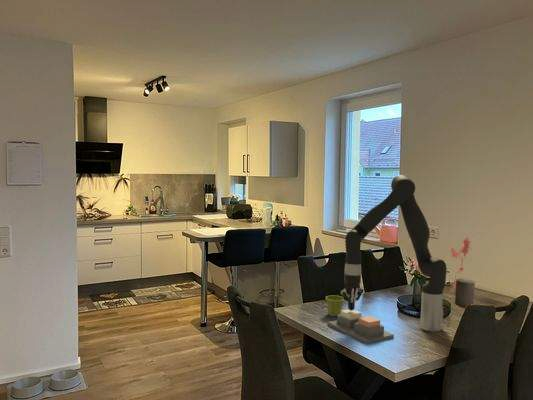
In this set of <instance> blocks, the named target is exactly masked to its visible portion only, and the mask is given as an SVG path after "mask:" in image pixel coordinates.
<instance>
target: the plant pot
mask: <svg viewBox="0 0 533 400" xmlns="http://www.w3.org/2000/svg"><path fill="white" fill-rule="evenodd" d="M325 300H326V302H327V304H326V305H327V314H328V316H331V317H337V315H341V311H342V310H343V309H342V308H343V303H344V301H345V300H344V298H343V297H342V295H341V296H340V295H332V294H331V295H327V296H325Z"/></svg>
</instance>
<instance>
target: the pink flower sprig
mask: <svg viewBox="0 0 533 400" xmlns="http://www.w3.org/2000/svg"><path fill="white" fill-rule="evenodd" d="M462 241H463V242H462V243H463V245H462V247H461V248H460V250H459V251H456V249H455V248H453V247H450V253H451V256H452V258H456V259H458V257H459V258H460V259H461V265H460V266H458V271H457V272H456V273H455V277H454V279H455V280H454V283H453V287H452V288H451V290H450V291H449V292H450V293H452V292H453V290H455V291H456V279H457V274H458V273H461V272H462V271H463V270H464V267H463V263H464V262H463V260H464V259H463V258H462V256H461V254H463V257H466V254H469V249H470V250H471V251H473V250H472V248H471V247H470V244H471V243H470V240H469V237H468V236H466V238H465V239H463V240H462ZM446 294H449V293H448V292H446Z"/></svg>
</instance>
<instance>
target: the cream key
mask: <svg viewBox="0 0 533 400" xmlns="http://www.w3.org/2000/svg"><path fill="white" fill-rule="evenodd" d="M340 315H341V316H342V317H344V318H346V319H349V320H354V319H359V318H361V317H362V312H361V311H358V310H356V309H354V310H352V311H351V310H349V309H348V308H347V309H344V310H343V309H341V314H340Z"/></svg>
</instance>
